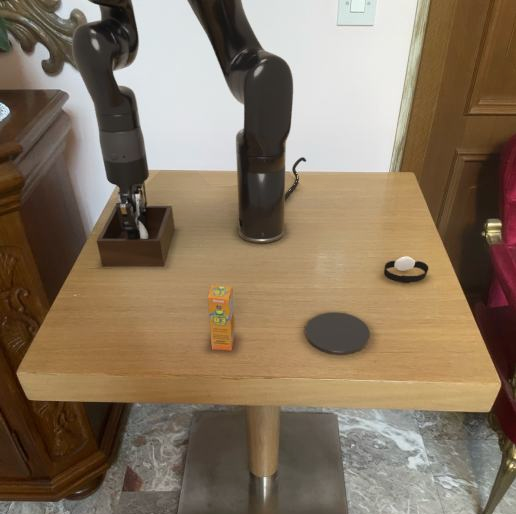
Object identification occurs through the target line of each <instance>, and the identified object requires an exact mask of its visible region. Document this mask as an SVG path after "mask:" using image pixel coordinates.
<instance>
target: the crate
mask: <svg viewBox="0 0 516 514" xmlns="http://www.w3.org/2000/svg"><path fill="white" fill-rule="evenodd" d="M145 209H146V213H145V219H146V225H147V232H148V237H149V238H148V239H128V235H127V232H126V231H125V232H123V231H122V229H121V224H120V221H119V217H118V213H117V210H116V205H114V206H113V208H112V210H111V212H110V214H109V216H108V218H107V220H106V222H105V224H104V226H103V228H102V229H101V231H100V233H99V235H98V237H97V239H96V245H97V249H98V253H99V257H100V261H101V262H100V263H101V267H164V266H165V265H166V261H167V257H168V254H169V251H170V247H171V243H172V241H173V237H174V234H175V231H176V230H175V222H174V216H173V215H174V213H173V207H172V205H147V206H146V207H145ZM128 224H131V222H128Z"/></svg>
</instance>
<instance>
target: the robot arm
mask: <svg viewBox="0 0 516 514" xmlns="http://www.w3.org/2000/svg"><path fill="white" fill-rule="evenodd" d="M186 1H187V3H188V5H189V6H190V8H191V10H192V12H193V14H194V15H195V18H196V19H197V20H198V23H199V24H200V26H201V27H202V29H203V31H204V33H205V34H206V37H207V38H208V41H209V42H210V45H211V47H212V49H213V52H214V55H215V57H216V60H217V62H218V65H219V68H220V70H221V74H222V75H223V78H224V80H225V83H226V85H227V88H228V90H229V92H230V93H231V95H232V96H233V98H234V99H235V100H236V101H237V102H238V103H240V104H241V105H243V128H241V129H240V130H238V132H237V133H236V135H235V156H236V158H235V159H236V181H237V184H236V185H237V207H238V209H237V211H238V217H237V224H238V235H239V236H240V238H241V239H243V240H244V241H247V242H250V243H255V244H268V243H272V242H276V241H278V240H280V239H282V238H283V236H284V235H285V205H286V204H285V203H286V201H287V199H288V197H289V196H290V195H291V194H292V192H293V191H294V190H295V189H296V187H297V186H298V184H299V180H300V177H299V174H298V172H297V169H296V168H297V166H298V165H299V164H300V163H301V162H304V163H306V162H307V159H306V158H305V157H303V156H302V157H299V158H298V159H297V160H296V161H295V162H294V164H293V165H292V168H291V171H292V173H293V175H294V178H295V180H294V182H293V184H292V186H291V187H289V189H288V190H287V191H286V154H287V140H288V137H289V136H290V133H291V127H292V117H293V104H294V103H293V101H294V79H293V78H294V77H293V73H292V70H291V67H290V65H289V64H288V62H287V61H286V60H285V59H284V58H283V57H281V56H279V55H277V54H276V53H275V54H274V53H272V52H269V51H267V50H266V49H264V48H263V46H262V44H261V43H260V41H259V39H258V38H257V36H256V34H255V32H254V30H253V28H252V26H251V23H250V22H249V20H248V17H247V14H246V12H245V9H244V5H243V2H242V0H186ZM87 2H90V3H92V4H94V5H97V6H98V7H99V12H100V19H99V20H95V21H94V20H93V21H90V22H85V23H82V24H80V25H78V26H77V27H76V28H75V29H74V31H73V34H72V38H71V53H72V58H73V62H74V63H75V66H76V69H77V70H78V72H79V75H80V77H81V80H82V81H83V83H84V86H85V89H86V90H87V93H88V94H89V96H90V98H91V101H92V103H93V107H94V112H95V118H96V123H97V129H98V136H99V137H98V139H99V146H100V151H101V155H102V160H103V165H104V171H105V177H106V180H107V181H108V183H110V184H112V185H114V186H116V187H118V188H119V189H118V191H117V200H118V202H116V203H115V206H116V210H117V213H118V217H119V221H120V224H121V229H122V231H123V232H125V231H126V232H127V235H128V239H141V237H140V231H139V221H140V222H141V223H142V224H143V225H144V227H145V228H146V230H147V225H146V219H145V213H146V209H145V207H146V206H148V202H147V193H146V192H147V191H146V183H145V182H146V181H147V180H148V178H149V177H150V170H149V165H148V157H147V151H146V145H145V138H144V134H143V130H142V127H141V120H140V113H139V108H138V101H137V97H136V94H135V92H134V90H133V89H132V88H130V87H129V86H125V85H119V84H118V82H117V80H116V76H115V74H114V72H116V71H119V70H123V69H125V68H128V67H130V66H132V65H133V64H134V62H135V60H136V58H137V56H138V53H139V47H140V37H139V30H138V24H137V20H136V15H135V14H136V13H135V10H134V9H135V8H134V5H133V1H132V0H87ZM296 173H297V174H296ZM297 175H298V179H297ZM296 181H297V182H296ZM294 184H295V185H294ZM290 189H291V190H290ZM289 190H290V191H289ZM128 222H131V224H128Z"/></svg>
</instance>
